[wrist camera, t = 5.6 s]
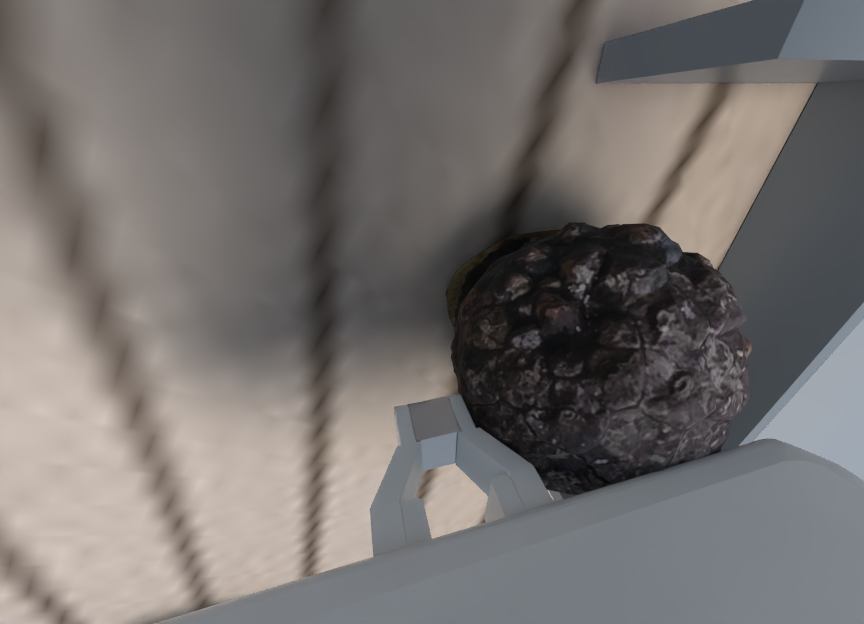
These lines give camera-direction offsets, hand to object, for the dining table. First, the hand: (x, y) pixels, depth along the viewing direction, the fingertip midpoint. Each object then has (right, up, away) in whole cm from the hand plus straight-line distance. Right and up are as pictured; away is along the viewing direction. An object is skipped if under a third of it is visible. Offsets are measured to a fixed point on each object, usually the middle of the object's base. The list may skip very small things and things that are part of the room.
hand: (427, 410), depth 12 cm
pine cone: (+7, +3, +7) cm, 10 cm away
